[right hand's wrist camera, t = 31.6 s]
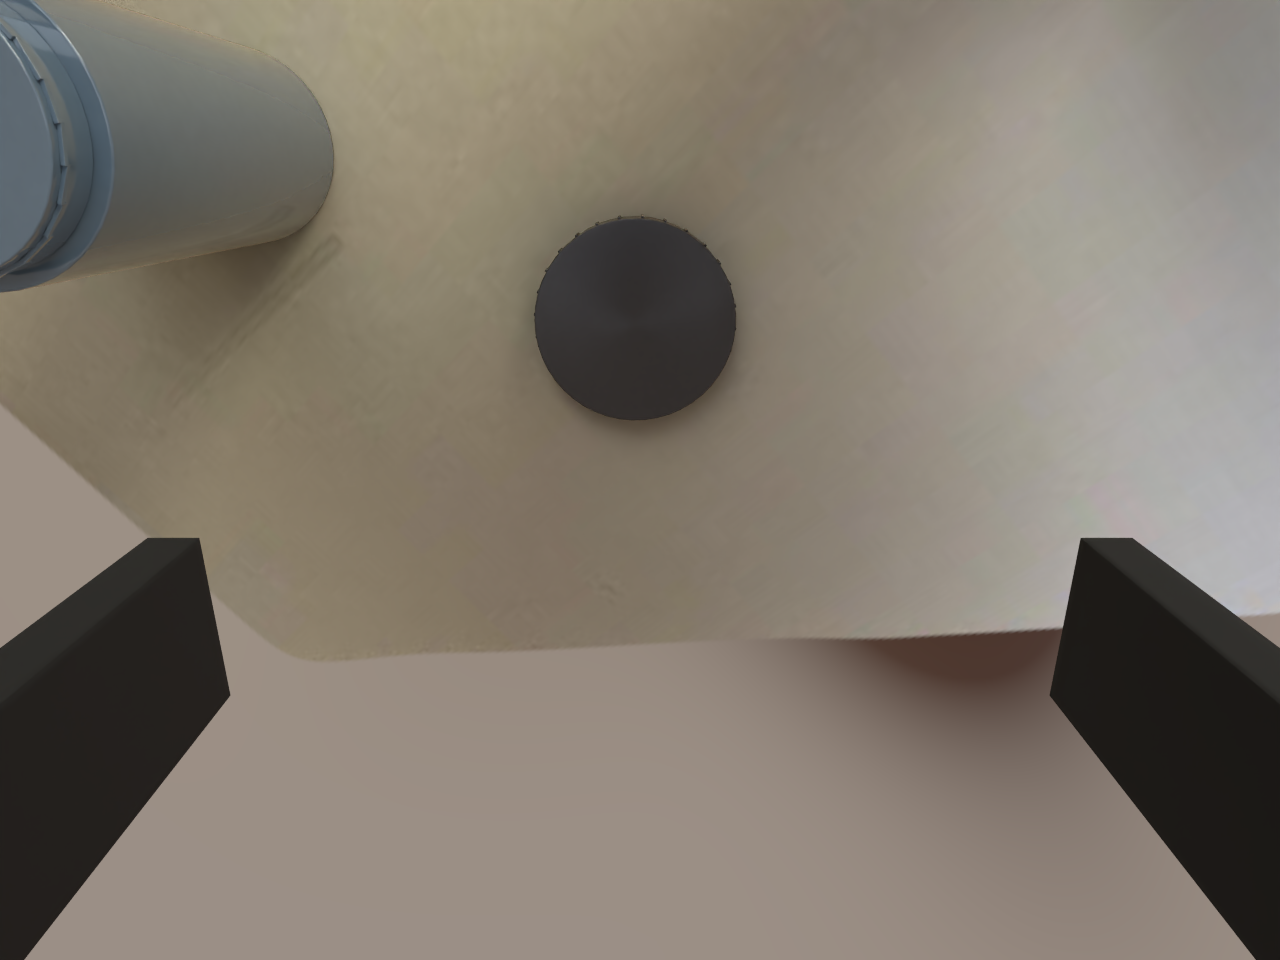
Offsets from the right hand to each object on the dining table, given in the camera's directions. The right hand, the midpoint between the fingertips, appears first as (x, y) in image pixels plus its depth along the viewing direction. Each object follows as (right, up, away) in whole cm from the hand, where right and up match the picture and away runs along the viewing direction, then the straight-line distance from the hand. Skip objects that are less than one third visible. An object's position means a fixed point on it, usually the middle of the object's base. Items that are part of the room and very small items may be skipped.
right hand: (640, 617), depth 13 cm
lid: (0, +9, +26) cm, 28 cm away
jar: (-18, +17, +25) cm, 35 cm away
